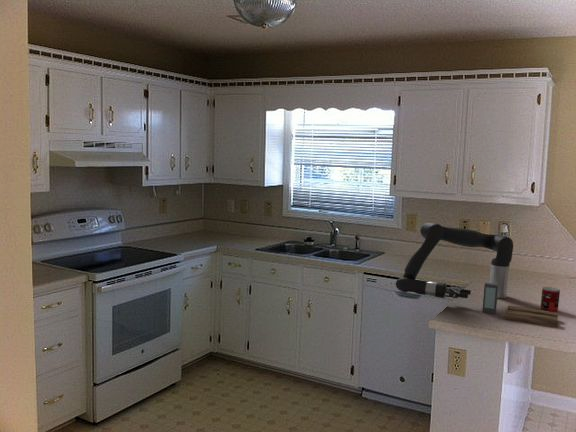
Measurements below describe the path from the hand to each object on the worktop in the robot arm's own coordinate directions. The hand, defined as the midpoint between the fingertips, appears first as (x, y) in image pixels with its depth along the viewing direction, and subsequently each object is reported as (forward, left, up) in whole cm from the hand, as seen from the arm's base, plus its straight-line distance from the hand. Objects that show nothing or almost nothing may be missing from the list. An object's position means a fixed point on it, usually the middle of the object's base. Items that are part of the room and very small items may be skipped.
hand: (469, 294), depth 282 cm
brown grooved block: (+2, +29, -8) cm, 30 cm away
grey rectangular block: (0, +10, -8) cm, 12 cm away
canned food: (-23, +36, -8) cm, 43 cm away
